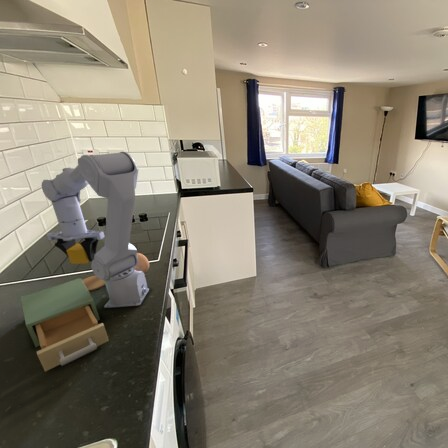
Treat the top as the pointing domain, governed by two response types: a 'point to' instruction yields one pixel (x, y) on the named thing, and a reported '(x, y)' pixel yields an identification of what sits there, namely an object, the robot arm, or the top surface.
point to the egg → (142, 263)
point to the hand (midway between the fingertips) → (83, 260)
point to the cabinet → (55, 304)
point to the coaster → (93, 283)
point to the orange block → (77, 254)
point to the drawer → (69, 337)
